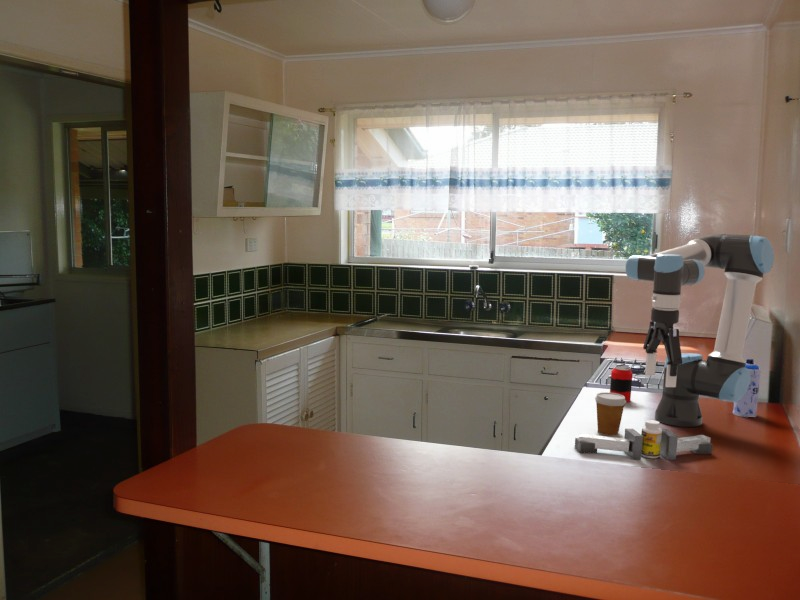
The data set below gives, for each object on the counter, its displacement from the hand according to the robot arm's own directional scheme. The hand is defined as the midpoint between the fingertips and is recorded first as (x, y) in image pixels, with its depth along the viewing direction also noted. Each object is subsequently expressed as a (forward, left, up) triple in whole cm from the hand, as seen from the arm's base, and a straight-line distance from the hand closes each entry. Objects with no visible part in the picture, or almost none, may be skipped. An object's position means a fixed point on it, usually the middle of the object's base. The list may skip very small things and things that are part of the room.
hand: (659, 380), depth 223 cm
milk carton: (-43, +53, -22) cm, 71 cm away
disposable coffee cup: (-20, -6, -22) cm, 30 cm away
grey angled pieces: (+1, -2, -22) cm, 22 cm away
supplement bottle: (+2, -2, -22) cm, 22 cm away
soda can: (-60, +14, -22) cm, 66 cm away
